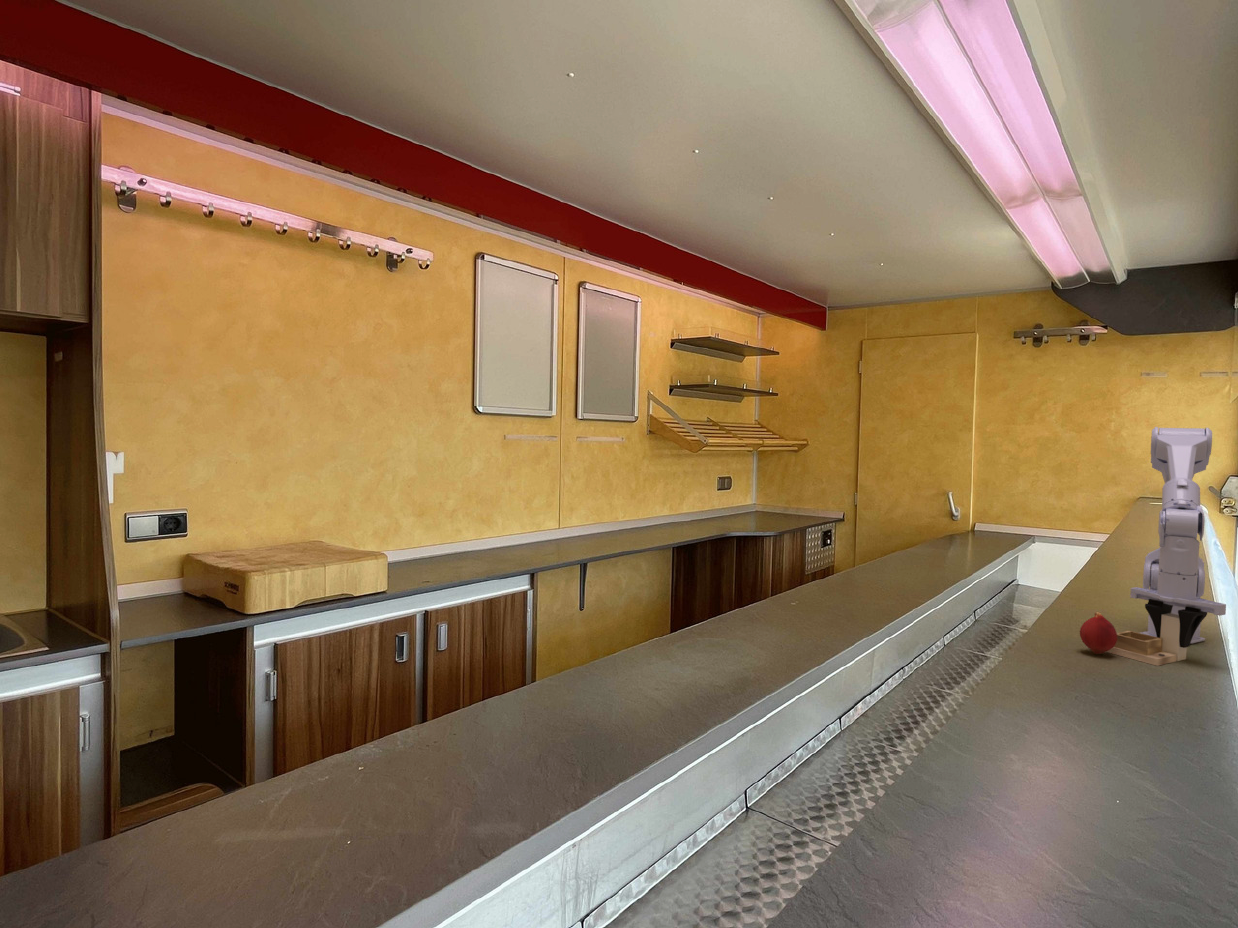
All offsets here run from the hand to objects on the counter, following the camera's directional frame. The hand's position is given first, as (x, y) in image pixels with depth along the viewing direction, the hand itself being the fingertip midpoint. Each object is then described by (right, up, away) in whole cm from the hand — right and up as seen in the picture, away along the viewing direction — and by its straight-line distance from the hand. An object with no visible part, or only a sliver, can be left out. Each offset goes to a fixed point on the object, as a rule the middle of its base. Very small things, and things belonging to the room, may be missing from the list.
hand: (1173, 643), depth 131 cm
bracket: (-6, -2, +1) cm, 7 cm away
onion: (-14, -2, +1) cm, 14 cm away
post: (0, -3, 0) cm, 3 cm away
